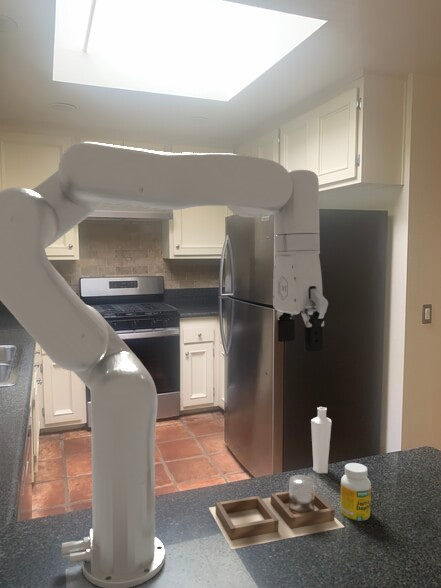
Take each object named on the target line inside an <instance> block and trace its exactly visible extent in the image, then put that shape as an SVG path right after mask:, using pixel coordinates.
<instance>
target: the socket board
mask: <svg viewBox="0 0 441 588" xmlns="http://www.w3.org/2000/svg"><path fill="white" fill-rule="evenodd" d="M314 508H315V509H314V511H311V512H305V513H300V514H294V515H293V514H292V513H291V511H290V510H289V490H286V491H279V492H278V491H277V492H273V493H270V497H264V498H262V497H261V496H260V495H256V496H248V497H243V498H237V499H230V500H224V501H217V502H215V506H212V507H211V506H210V507H208V510H209V511H210V513H211V515H212V516H213V518H214V520H215V522H216V524H217V526H218V527H219V530H220V531H221V534H222V535H223V537H224V539H225V541H226V542H227V544H228V546H229V548H230V550H232V551H233V550H236V549H237V550H239V549H242V548H246V547H247V548H249V547H252V546H257V545H262V544H268V543H272V542H278V541H282V540H287V539H292V538H297V537H302V536H307V535H312V534H313V535H314V534H318V533H323V532H327V531H332V530H338V529H343V528H345V526H344V524H342V523H341V521H339V520H338V519H337V518H336V517H335V516H336V515H335V514H336V513H335V511H336V510H335V509H334V507H333V506H331V505H330V504H329V503H328V502H327V501H326V500H325V499H324V498H323V497H321V495H320V494H318V493H317V491H315V496H314Z"/></svg>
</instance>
